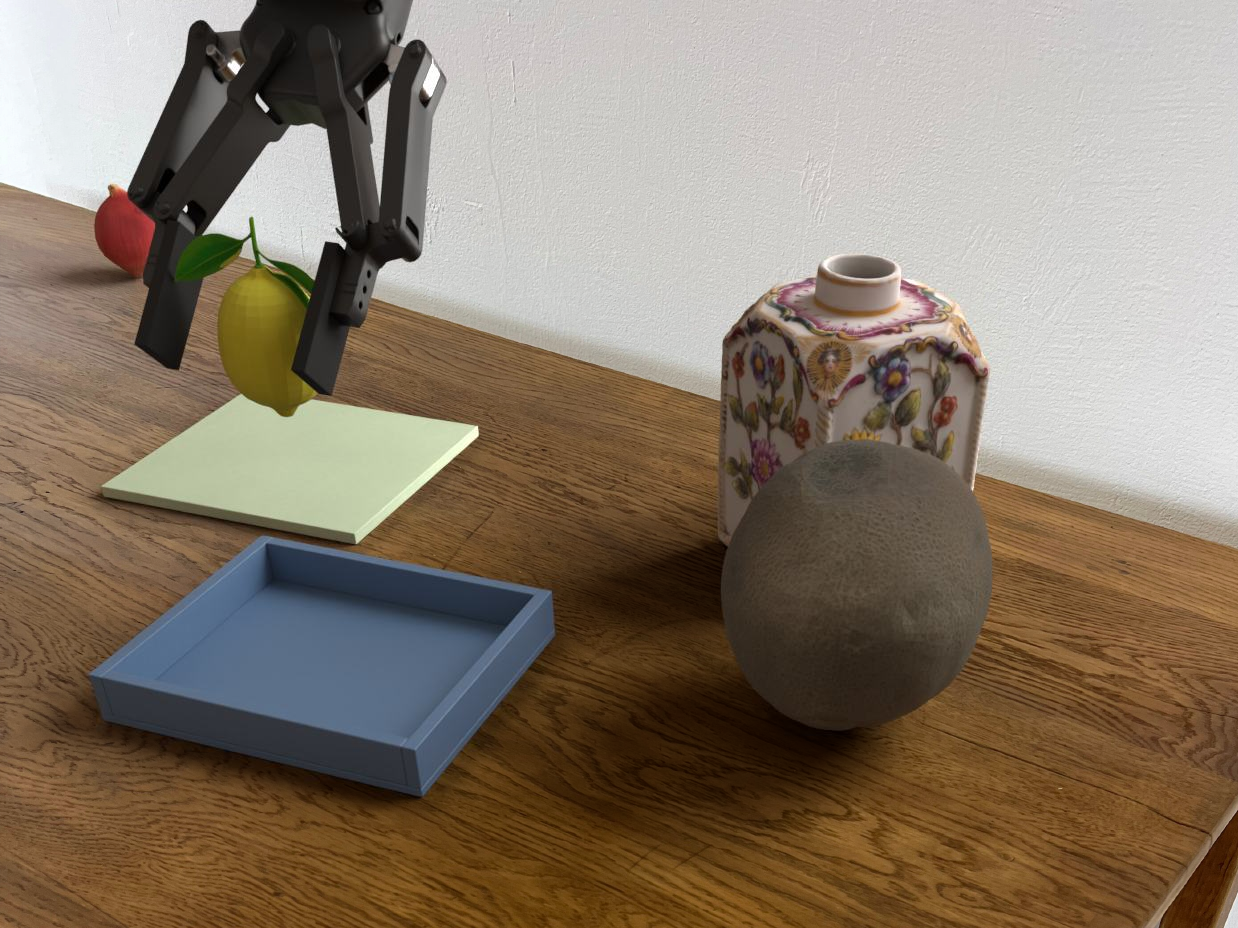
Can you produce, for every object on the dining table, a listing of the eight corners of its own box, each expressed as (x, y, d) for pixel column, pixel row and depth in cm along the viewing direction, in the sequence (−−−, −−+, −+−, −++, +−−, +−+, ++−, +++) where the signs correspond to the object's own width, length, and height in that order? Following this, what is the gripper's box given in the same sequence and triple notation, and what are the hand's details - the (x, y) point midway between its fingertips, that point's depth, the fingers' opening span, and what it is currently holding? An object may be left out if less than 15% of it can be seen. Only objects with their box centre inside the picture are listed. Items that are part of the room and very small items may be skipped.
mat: (103, 497, 94) (100, 486, 94) (250, 399, 107) (247, 388, 106) (356, 545, 89) (354, 533, 88) (479, 436, 101) (478, 425, 101)
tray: (103, 720, 74) (87, 674, 72) (271, 578, 86) (261, 534, 84) (422, 797, 69) (414, 750, 67) (555, 635, 81) (552, 590, 79)
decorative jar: (712, 540, 89) (717, 250, 77) (861, 502, 93) (888, 221, 81) (807, 624, 81) (830, 316, 69) (965, 579, 85) (1013, 280, 73)
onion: (155, 262, 131) (133, 171, 125) (181, 277, 127) (159, 184, 122) (97, 275, 128) (71, 182, 123) (121, 291, 125) (97, 196, 119)
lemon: (203, 410, 74) (158, 212, 67) (300, 383, 76) (266, 190, 70) (265, 453, 70) (223, 248, 63) (363, 422, 73) (334, 222, 66)
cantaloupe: (660, 708, 75) (658, 447, 65) (841, 622, 82) (865, 373, 72) (843, 833, 67) (873, 558, 57) (1027, 726, 74) (1083, 463, 64)
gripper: (564, 6, 69) (451, 432, 69) (213, -22, 75) (107, 373, 75) (510, -110, 62) (384, 366, 62) (126, -131, 68) (8, 306, 67)
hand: (233, 370), depth 68 cm, fingers closed on lemon, 8 cm apart
